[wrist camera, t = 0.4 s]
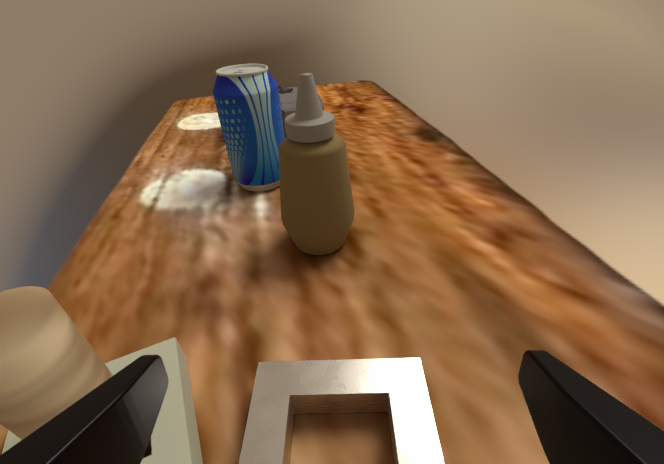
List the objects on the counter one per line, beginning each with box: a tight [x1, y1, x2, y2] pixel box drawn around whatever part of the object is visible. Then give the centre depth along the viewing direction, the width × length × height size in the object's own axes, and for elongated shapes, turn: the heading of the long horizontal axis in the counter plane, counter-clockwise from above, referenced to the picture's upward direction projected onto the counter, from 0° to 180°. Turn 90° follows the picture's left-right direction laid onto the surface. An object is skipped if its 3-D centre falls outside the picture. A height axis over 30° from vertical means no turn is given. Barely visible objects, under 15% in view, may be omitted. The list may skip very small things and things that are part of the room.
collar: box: [2, 337, 203, 464], centre depth 22 cm, size 10×10×3 cm
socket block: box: [239, 358, 445, 464], centre depth 20 cm, size 12×12×2 cm
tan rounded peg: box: [0, 286, 152, 458], centre depth 19 cm, size 4×4×13 cm
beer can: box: [213, 64, 285, 192], centre depth 48 cm, size 8×8×16 cm
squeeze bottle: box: [278, 73, 354, 255], centre depth 35 cm, size 8×8×18 cm
